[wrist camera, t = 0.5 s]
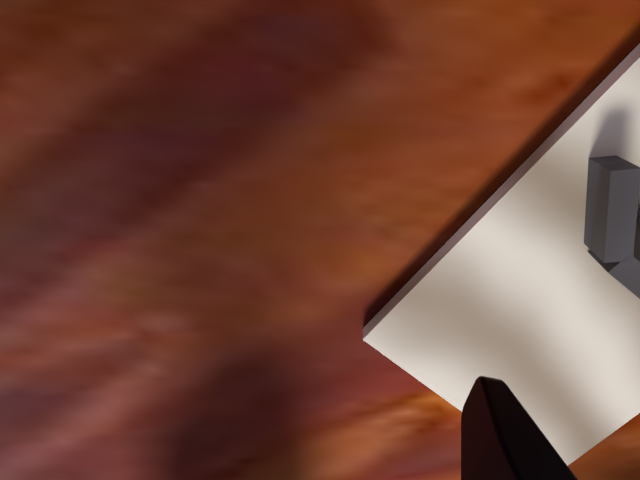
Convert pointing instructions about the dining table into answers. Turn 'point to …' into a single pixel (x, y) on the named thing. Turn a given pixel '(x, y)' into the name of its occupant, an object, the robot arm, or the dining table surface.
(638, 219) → the grey round cylinder
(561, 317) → the ring stand
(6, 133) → the dining table surface
